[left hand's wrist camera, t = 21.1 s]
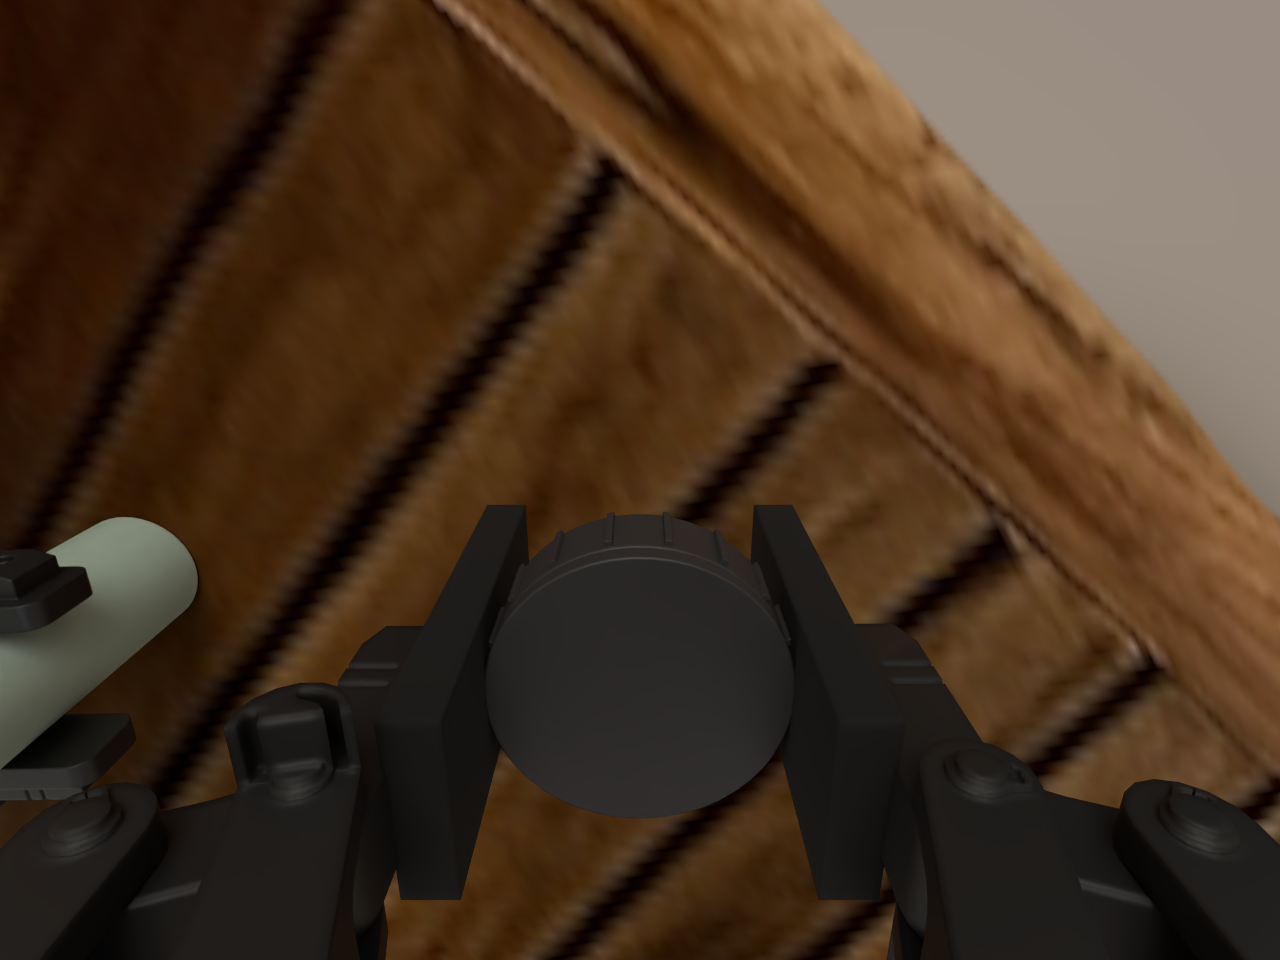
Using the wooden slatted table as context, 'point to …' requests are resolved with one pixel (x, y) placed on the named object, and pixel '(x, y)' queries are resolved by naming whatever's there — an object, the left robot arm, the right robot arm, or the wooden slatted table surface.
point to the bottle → (92, 624)
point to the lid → (639, 668)
